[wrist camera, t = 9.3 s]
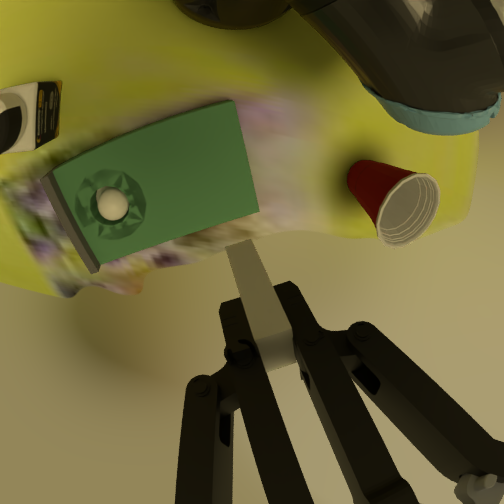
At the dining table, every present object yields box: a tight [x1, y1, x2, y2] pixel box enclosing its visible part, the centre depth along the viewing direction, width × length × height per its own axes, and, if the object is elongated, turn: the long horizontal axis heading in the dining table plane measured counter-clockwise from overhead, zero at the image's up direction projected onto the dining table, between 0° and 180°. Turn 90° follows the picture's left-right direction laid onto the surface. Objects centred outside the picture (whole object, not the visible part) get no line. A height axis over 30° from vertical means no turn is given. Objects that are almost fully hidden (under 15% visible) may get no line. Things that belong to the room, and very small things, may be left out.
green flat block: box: [40, 100, 260, 274], centre depth 30 cm, size 14×23×4 cm, turn 102°
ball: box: [98, 187, 129, 220], centre depth 30 cm, size 4×4×4 cm
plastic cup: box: [347, 160, 440, 249], centre depth 34 cm, size 11×11×12 cm
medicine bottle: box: [0, 81, 62, 154], centre depth 17 cm, size 7×7×12 cm
